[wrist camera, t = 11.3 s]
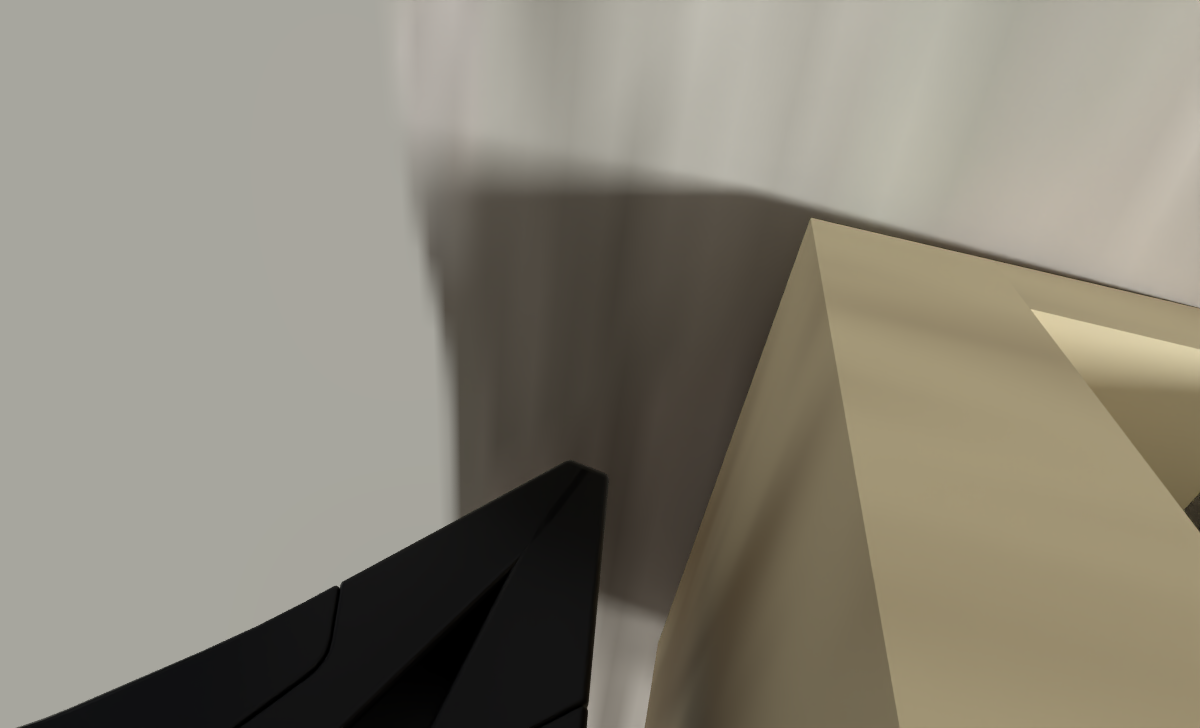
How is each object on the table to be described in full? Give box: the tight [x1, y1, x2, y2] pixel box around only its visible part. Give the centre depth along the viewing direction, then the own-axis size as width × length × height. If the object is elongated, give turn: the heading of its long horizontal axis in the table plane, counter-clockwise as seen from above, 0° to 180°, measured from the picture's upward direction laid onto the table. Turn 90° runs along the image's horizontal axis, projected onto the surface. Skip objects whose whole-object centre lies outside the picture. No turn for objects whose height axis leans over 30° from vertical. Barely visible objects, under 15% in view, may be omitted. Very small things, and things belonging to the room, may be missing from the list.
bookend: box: [645, 218, 1200, 728], centre depth 7 cm, size 8×4×6 cm, turn 171°
